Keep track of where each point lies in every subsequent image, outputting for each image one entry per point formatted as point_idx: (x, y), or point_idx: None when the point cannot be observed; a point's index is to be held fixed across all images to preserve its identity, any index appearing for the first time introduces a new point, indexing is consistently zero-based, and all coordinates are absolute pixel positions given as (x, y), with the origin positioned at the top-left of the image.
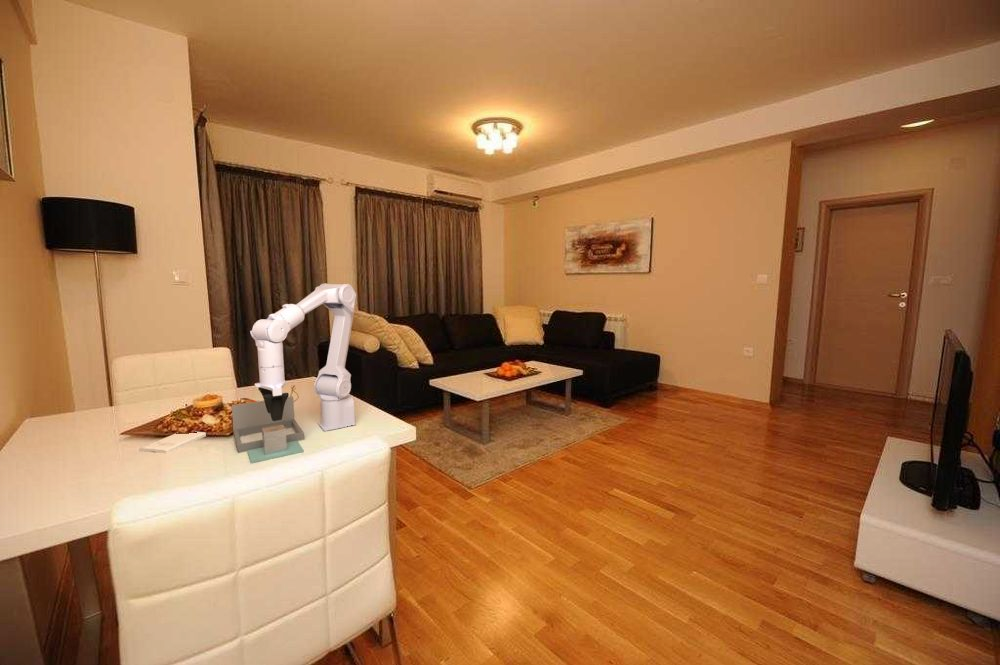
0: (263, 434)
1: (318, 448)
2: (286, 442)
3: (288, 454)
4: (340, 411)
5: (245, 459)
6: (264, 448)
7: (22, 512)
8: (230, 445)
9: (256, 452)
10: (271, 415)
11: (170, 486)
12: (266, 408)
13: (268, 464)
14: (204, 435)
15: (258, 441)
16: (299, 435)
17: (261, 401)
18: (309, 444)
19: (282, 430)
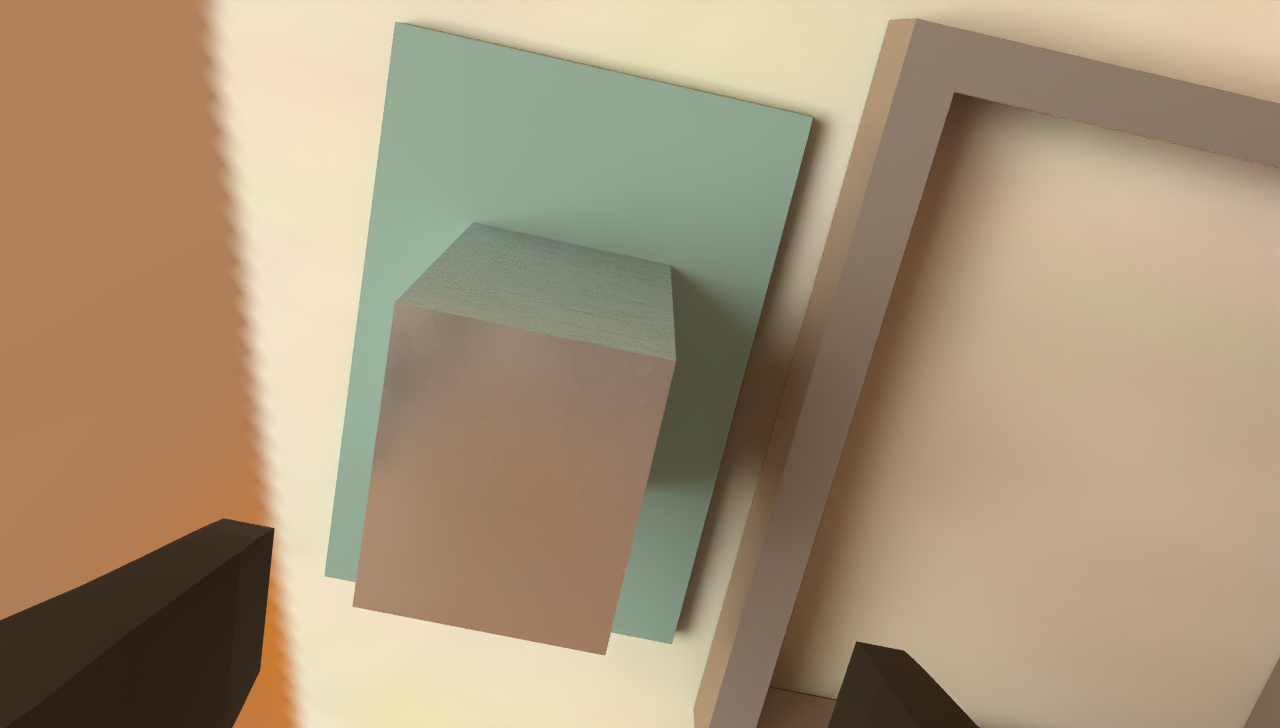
0: (469, 302)
1: (326, 698)
2: (740, 547)
3: (349, 426)
4: None
5: (591, 17)
6: (494, 246)
7: None
8: (1263, 32)
9: (651, 178)
10: (120, 568)
11: None
12: (912, 693)
13: (233, 167)
14: None
15: (841, 285)
16: (706, 706)
17: None
18: (508, 685)
19: (362, 555)
